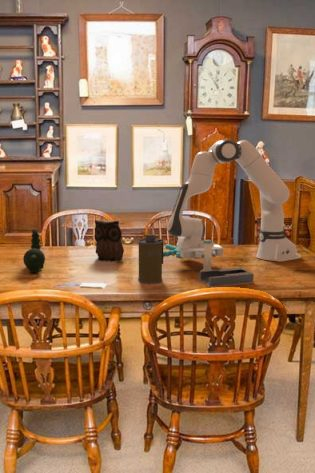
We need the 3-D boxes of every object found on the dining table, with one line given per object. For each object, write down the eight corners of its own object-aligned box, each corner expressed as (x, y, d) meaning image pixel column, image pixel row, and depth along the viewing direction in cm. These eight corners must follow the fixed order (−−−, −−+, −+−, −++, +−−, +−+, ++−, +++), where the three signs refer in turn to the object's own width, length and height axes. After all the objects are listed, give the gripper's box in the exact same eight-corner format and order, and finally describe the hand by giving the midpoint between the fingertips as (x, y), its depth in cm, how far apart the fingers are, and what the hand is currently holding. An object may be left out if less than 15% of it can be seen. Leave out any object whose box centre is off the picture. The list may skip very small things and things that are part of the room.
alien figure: (159, 256, 260) (197, 259, 256) (159, 252, 260) (198, 254, 256) (166, 248, 280) (202, 250, 276) (166, 244, 279) (202, 246, 275)
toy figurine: (26, 267, 245) (22, 277, 221) (25, 228, 243) (20, 233, 219) (46, 266, 247) (44, 276, 222) (45, 227, 245) (43, 233, 220)
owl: (124, 261, 250) (124, 221, 246) (100, 263, 245) (99, 222, 241) (116, 255, 262) (116, 217, 257) (92, 257, 257) (92, 218, 253)
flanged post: (210, 270, 234) (211, 239, 231) (215, 273, 229) (216, 241, 226) (199, 271, 233) (199, 239, 229) (204, 274, 227) (204, 242, 224)
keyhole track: (240, 275, 226) (240, 266, 226) (253, 283, 215) (254, 274, 214) (198, 279, 220) (199, 270, 219) (210, 287, 209) (210, 278, 208)
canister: (143, 284, 212) (143, 238, 208) (134, 278, 222) (134, 233, 218) (167, 281, 217) (167, 235, 212) (157, 275, 226) (157, 231, 222)
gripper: (175, 244, 237) (187, 250, 224) (215, 241, 244) (228, 247, 231) (175, 257, 239) (186, 264, 226) (215, 253, 245) (228, 260, 232)
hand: (208, 255), depth 228 cm, fingers open, 5 cm apart
